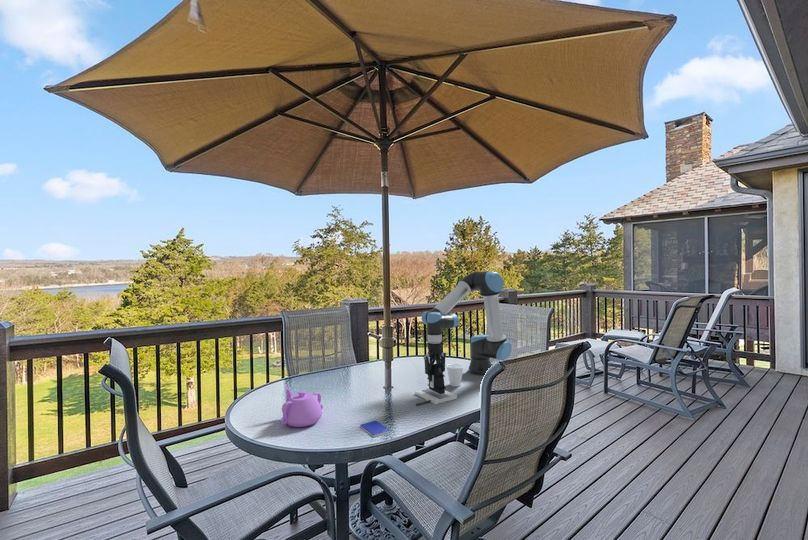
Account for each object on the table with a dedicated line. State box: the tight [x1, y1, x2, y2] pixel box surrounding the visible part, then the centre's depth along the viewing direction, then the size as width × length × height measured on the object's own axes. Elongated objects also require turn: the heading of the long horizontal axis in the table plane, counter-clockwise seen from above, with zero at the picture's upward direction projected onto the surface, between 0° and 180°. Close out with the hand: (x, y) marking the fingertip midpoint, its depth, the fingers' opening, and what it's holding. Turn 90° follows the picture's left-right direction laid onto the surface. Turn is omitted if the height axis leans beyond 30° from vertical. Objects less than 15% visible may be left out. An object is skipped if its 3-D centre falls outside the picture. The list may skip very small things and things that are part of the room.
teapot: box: [280, 386, 324, 428], centre depth 179 cm, size 22×22×14 cm
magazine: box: [426, 362, 447, 394], centre depth 206 cm, size 4×13×15 cm, turn 30°
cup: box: [445, 363, 465, 387], centre depth 225 cm, size 10×10×11 cm
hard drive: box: [359, 420, 392, 438], centre depth 169 cm, size 2×8×12 cm
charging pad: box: [414, 387, 458, 406], centre depth 205 cm, size 23×18×2 cm
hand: (435, 386), depth 207 cm, fingers closed on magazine, 4 cm apart
